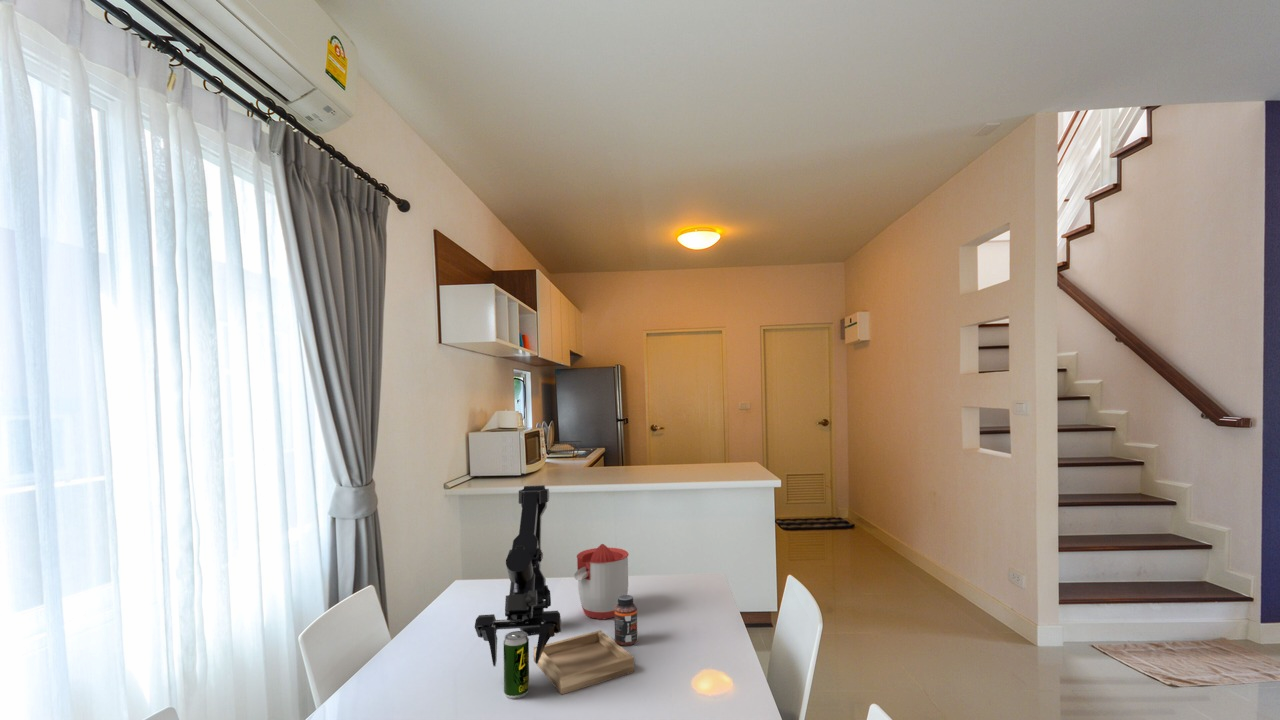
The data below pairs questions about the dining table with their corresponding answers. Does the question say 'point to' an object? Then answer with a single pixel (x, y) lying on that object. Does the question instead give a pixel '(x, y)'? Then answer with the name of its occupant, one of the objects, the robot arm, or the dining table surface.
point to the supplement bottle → (625, 621)
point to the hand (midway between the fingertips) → (515, 664)
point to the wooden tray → (583, 661)
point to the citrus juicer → (601, 580)
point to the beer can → (516, 664)
